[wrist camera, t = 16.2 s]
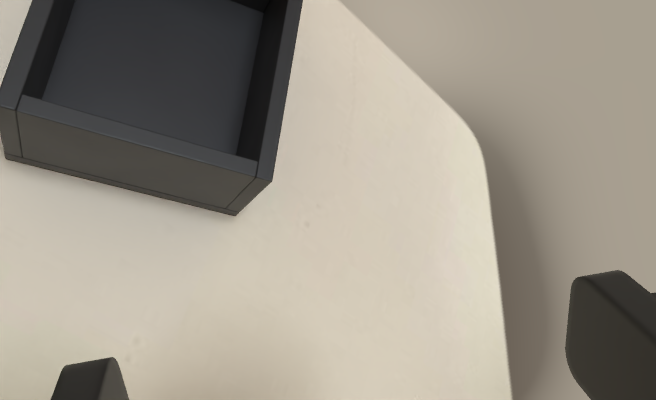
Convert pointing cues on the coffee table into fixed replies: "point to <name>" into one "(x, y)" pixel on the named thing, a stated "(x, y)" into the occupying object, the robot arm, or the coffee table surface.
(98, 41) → the shallow storage tray
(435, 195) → the coffee table surface
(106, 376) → the robot arm
